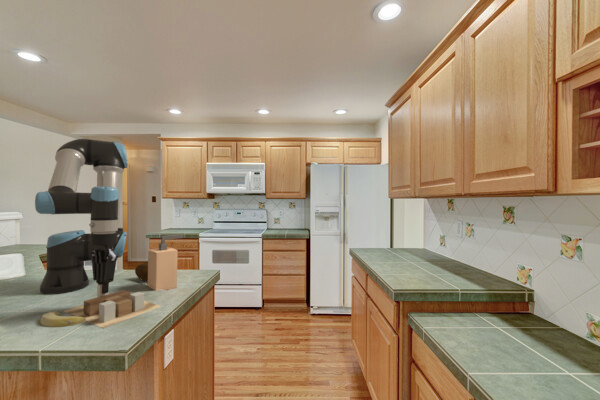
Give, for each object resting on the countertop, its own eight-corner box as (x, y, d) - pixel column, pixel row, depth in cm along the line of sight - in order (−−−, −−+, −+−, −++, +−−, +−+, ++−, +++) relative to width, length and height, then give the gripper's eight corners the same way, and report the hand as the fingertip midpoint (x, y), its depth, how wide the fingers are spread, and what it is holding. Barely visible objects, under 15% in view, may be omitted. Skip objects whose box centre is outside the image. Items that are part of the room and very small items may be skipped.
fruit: (56, 336, 73) (56, 324, 73) (31, 323, 80) (32, 312, 80) (86, 325, 79) (87, 314, 79) (61, 314, 86) (62, 304, 86)
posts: (98, 320, 80) (99, 303, 80) (138, 306, 90) (138, 291, 90) (104, 322, 78) (104, 305, 78) (144, 308, 89) (144, 293, 89)
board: (62, 313, 86) (62, 310, 86) (121, 296, 102) (121, 293, 102) (103, 331, 75) (103, 328, 75) (161, 309, 91) (161, 306, 91)
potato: (153, 275, 130) (153, 257, 130) (163, 280, 122) (163, 261, 122) (133, 279, 124) (134, 260, 124) (143, 284, 116) (143, 264, 116)
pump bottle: (155, 293, 106) (156, 238, 106) (147, 288, 112) (148, 236, 112) (186, 285, 116) (187, 235, 116) (177, 281, 122) (178, 233, 122)
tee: (83, 313, 84) (83, 301, 84) (123, 301, 95) (123, 290, 95) (104, 322, 78) (104, 309, 78) (144, 308, 89) (144, 296, 89)
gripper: (81, 232, 89) (79, 302, 89) (102, 235, 83) (100, 310, 83) (106, 230, 96) (104, 295, 96) (127, 232, 90) (125, 302, 90)
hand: (102, 302), depth 89 cm, fingers closed
